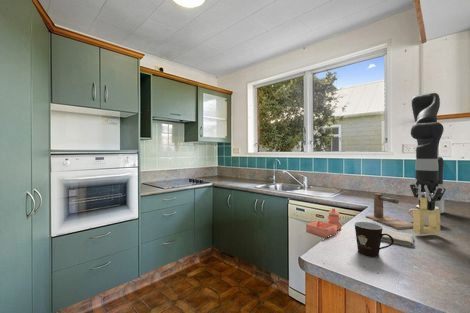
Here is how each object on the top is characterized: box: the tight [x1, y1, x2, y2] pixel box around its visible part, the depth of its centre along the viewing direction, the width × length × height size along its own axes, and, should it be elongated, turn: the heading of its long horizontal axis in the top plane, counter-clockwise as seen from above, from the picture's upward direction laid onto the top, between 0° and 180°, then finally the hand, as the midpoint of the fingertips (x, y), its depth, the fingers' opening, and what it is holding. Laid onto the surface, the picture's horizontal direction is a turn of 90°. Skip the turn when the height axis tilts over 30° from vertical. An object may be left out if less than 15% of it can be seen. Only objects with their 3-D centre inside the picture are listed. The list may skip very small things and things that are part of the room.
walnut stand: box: [365, 192, 413, 230], centre depth 113 cm, size 20×11×14 cm, turn 9°
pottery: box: [305, 208, 342, 240], centre depth 101 cm, size 18×10×10 cm, turn 125°
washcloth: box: [381, 228, 415, 248], centre depth 93 cm, size 12×18×3 cm, turn 50°
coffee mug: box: [354, 221, 395, 258], centre depth 77 cm, size 12×9×10 cm
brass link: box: [412, 197, 441, 235], centre depth 94 cm, size 10×3×15 cm, turn 99°
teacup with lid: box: [408, 204, 440, 227], centre depth 111 cm, size 12×9×12 cm
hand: (426, 209), depth 94 cm, fingers closed on brass link, 3 cm apart
